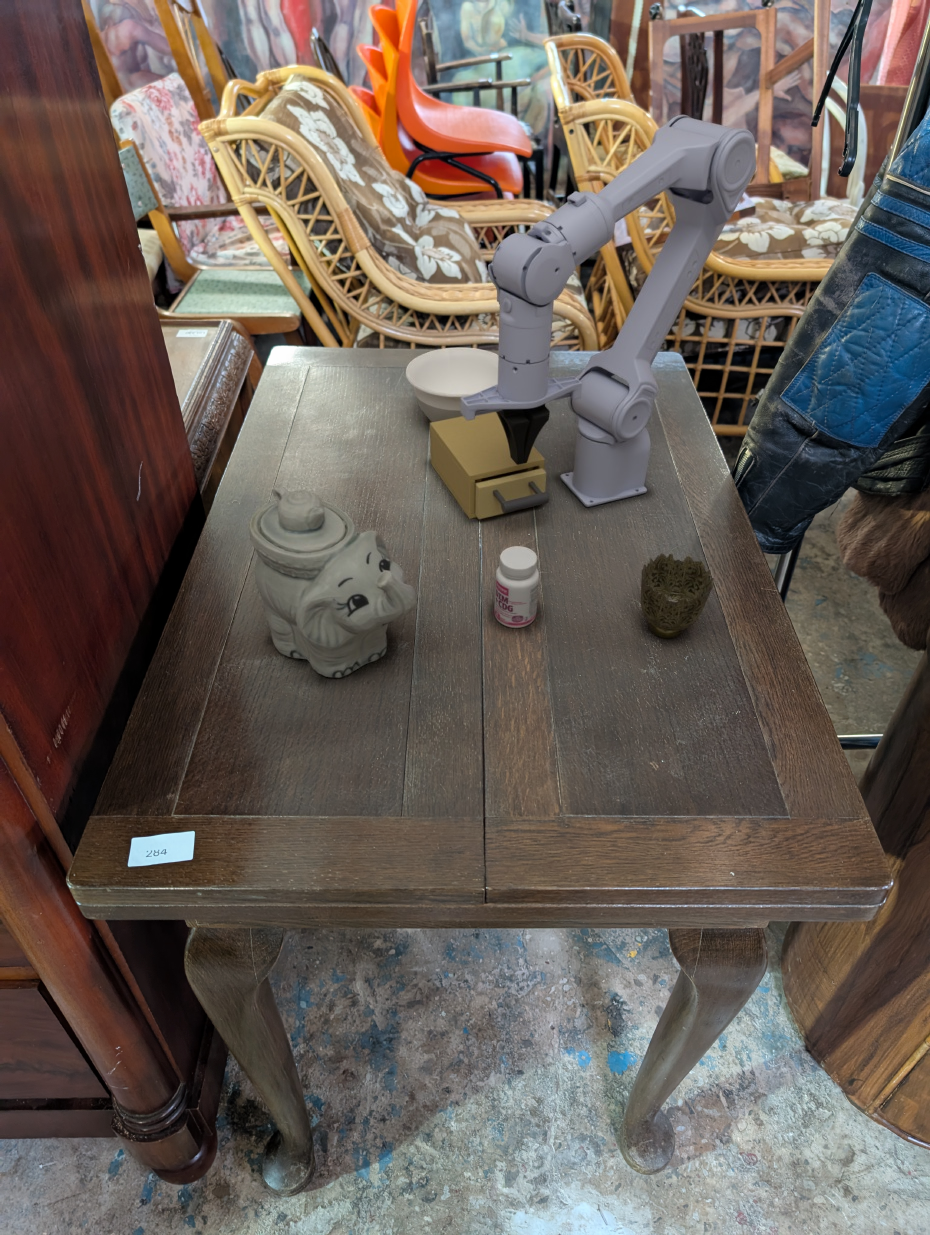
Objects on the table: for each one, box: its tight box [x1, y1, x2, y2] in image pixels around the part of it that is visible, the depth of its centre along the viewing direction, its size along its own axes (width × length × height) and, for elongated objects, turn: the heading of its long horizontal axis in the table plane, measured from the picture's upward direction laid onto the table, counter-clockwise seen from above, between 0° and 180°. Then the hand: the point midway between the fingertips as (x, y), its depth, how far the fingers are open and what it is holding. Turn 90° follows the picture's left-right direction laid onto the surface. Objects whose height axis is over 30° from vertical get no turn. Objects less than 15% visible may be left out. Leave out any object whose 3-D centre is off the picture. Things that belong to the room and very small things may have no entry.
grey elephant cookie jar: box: [248, 484, 417, 679], centre depth 80 cm, size 16×15×19 cm
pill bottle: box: [493, 545, 540, 629], centre depth 87 cm, size 5×5×8 cm
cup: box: [640, 552, 715, 639], centre depth 86 cm, size 8×7×8 cm
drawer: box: [475, 467, 550, 520], centre depth 105 cm, size 18×9×5 cm, turn 22°
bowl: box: [405, 346, 498, 423], centre depth 120 cm, size 16×16×8 cm
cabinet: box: [429, 412, 546, 520], centre depth 108 cm, size 15×11×7 cm
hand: (518, 459), depth 97 cm, fingers closed
